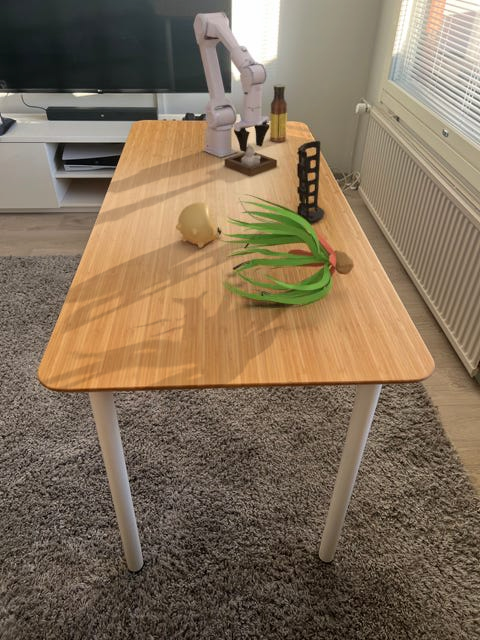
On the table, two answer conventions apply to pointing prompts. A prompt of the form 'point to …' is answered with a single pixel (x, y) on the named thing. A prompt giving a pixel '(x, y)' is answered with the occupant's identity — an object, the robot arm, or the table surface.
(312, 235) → the decorative plant
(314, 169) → the holder
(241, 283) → the table surface
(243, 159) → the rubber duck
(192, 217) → the toy pig
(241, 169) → the brown wooden square frame
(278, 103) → the sauce bottle
